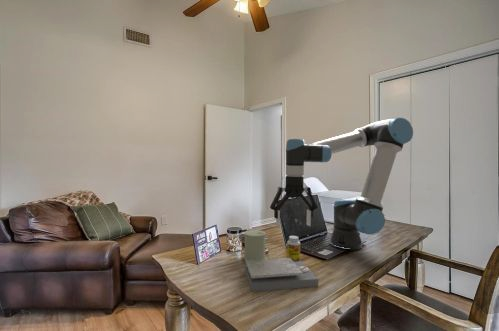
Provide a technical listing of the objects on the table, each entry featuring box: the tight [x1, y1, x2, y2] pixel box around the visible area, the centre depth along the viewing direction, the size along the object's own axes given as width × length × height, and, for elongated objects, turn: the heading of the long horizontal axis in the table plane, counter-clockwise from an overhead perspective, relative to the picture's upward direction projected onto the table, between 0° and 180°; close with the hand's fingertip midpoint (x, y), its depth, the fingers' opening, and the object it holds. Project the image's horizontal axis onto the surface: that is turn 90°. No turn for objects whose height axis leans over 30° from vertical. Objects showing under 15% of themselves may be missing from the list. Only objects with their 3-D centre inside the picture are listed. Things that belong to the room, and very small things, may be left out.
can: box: [243, 229, 266, 261], centre depth 108 cm, size 9×9×12 cm
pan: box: [244, 257, 303, 278], centre depth 90 cm, size 18×13×1 cm
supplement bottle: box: [286, 235, 301, 262], centre depth 107 cm, size 6×6×10 cm
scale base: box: [244, 260, 319, 292], centre depth 91 cm, size 23×15×3 cm, turn 100°
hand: (293, 225), depth 106 cm, fingers open, 13 cm apart
